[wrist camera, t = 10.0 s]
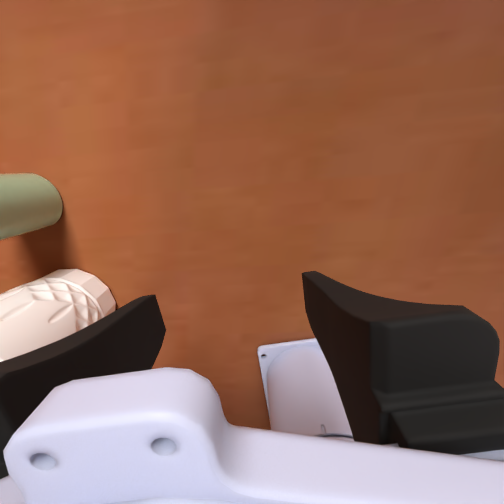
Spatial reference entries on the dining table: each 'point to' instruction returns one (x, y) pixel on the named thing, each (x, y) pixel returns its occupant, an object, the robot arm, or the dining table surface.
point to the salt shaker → (27, 204)
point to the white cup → (50, 310)
